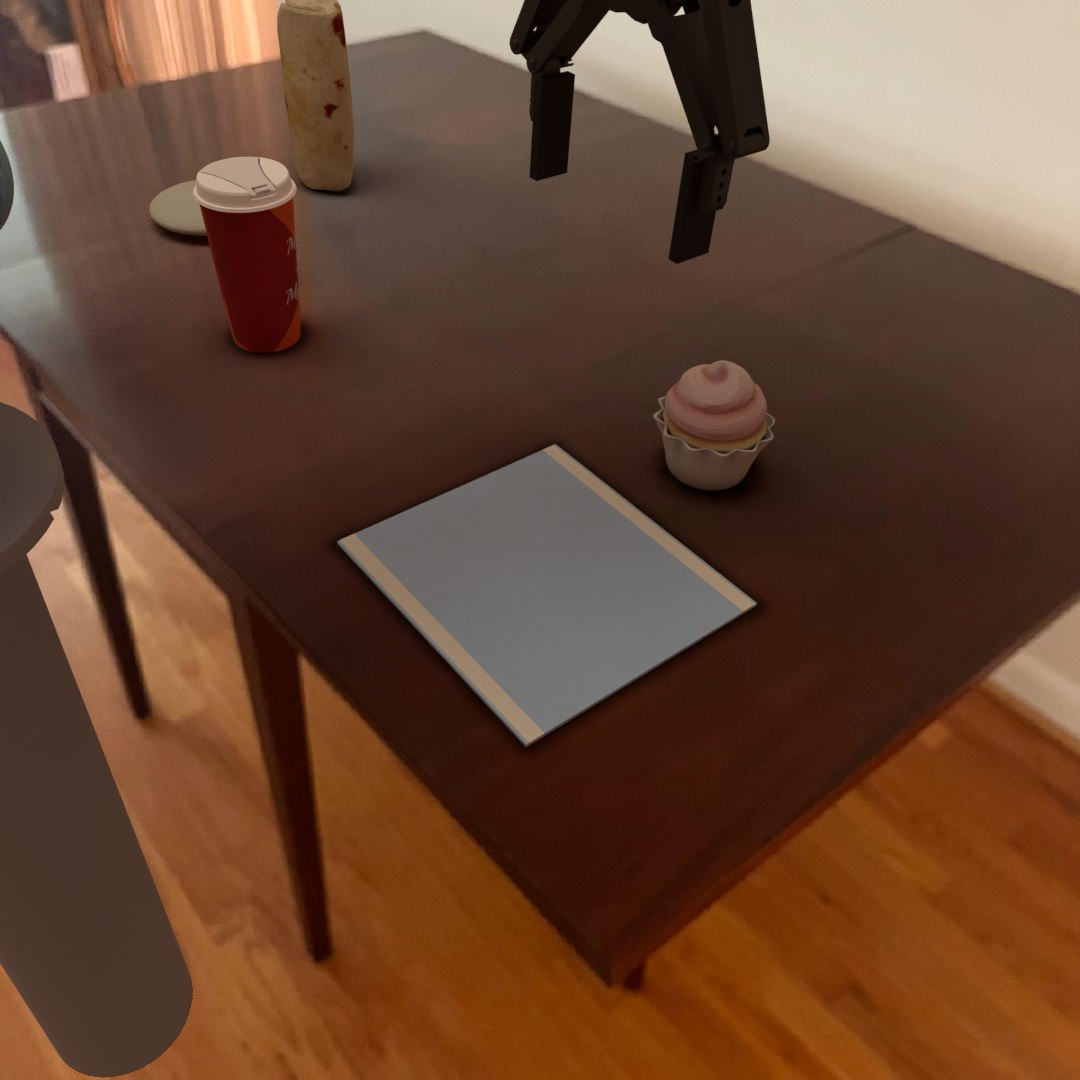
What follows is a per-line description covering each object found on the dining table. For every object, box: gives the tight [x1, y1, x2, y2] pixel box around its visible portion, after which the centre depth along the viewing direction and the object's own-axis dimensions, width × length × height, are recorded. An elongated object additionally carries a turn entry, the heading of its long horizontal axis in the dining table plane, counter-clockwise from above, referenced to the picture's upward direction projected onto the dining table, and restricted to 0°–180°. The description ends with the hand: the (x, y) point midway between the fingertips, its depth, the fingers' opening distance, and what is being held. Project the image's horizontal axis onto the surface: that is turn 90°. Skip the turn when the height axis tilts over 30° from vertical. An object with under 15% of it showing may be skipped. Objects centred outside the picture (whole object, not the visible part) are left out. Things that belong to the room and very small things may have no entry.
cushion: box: [148, 179, 207, 237], centre depth 110 cm, size 12×12×3 cm
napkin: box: [336, 443, 758, 748], centre depth 73 cm, size 22×20×1 cm
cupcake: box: [652, 360, 776, 492], centre depth 80 cm, size 9×9×10 cm
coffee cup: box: [193, 156, 301, 354], centre depth 90 cm, size 8×8×15 cm
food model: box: [276, 0, 355, 192], centre depth 113 cm, size 10×7×20 cm
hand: (614, 214), depth 68 cm, fingers open, 13 cm apart
